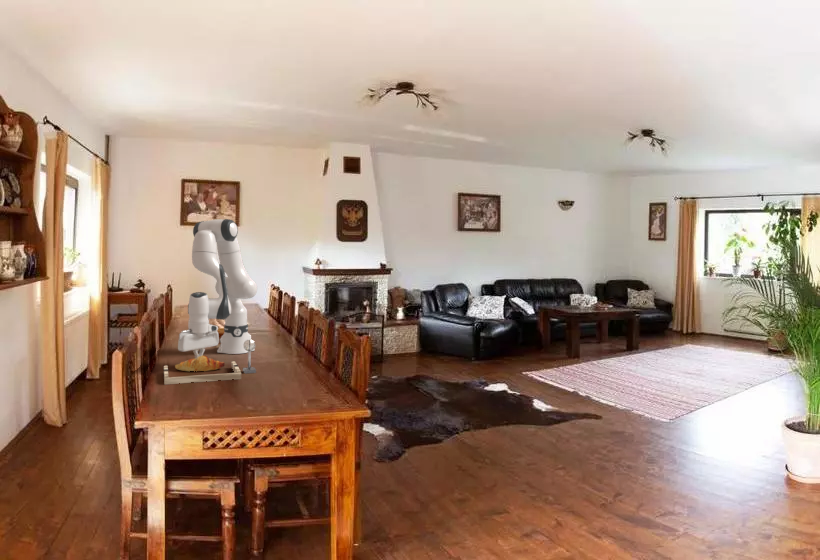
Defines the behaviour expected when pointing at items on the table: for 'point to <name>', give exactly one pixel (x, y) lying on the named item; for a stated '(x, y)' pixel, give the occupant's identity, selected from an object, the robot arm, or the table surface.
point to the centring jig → (202, 376)
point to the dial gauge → (249, 356)
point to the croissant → (200, 364)
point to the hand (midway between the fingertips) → (198, 358)
